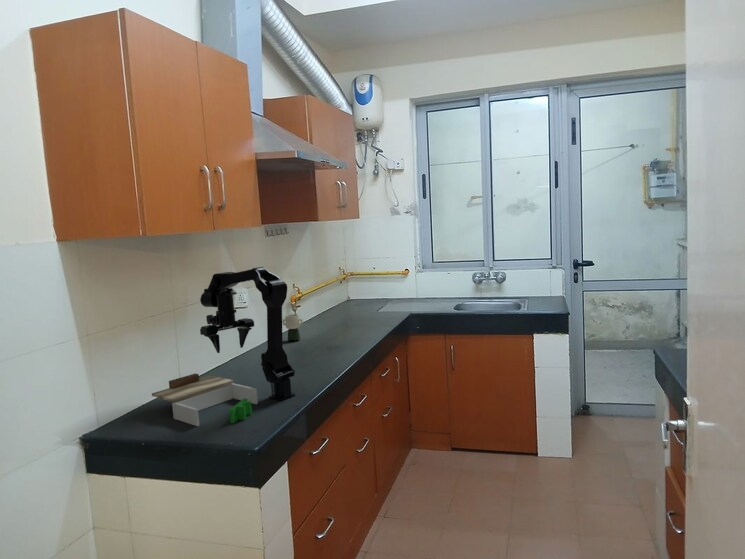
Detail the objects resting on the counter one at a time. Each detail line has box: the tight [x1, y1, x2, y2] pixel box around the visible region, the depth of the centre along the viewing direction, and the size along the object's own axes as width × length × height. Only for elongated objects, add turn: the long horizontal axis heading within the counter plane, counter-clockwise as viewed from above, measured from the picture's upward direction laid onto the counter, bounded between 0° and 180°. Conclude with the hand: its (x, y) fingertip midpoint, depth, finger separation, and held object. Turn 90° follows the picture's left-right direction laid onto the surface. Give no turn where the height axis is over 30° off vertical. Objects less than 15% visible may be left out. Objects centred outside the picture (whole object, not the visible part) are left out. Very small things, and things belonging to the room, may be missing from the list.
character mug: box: [282, 313, 304, 341], centre depth 268 cm, size 11×7×13 cm, turn 74°
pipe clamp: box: [228, 398, 253, 424], centre depth 163 cm, size 10×4×4 cm, turn 169°
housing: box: [171, 382, 259, 427], centre depth 170 cm, size 13×23×5 cm, turn 141°
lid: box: [151, 373, 235, 403], centre depth 177 cm, size 13×23×3 cm, turn 141°
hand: (230, 350), depth 193 cm, fingers open, 9 cm apart
